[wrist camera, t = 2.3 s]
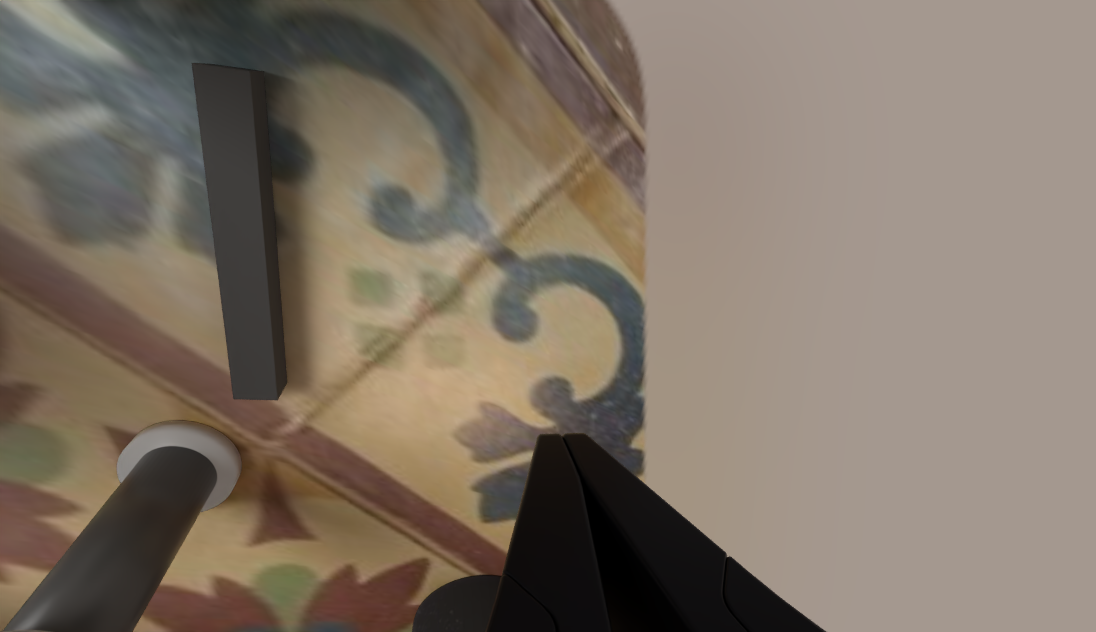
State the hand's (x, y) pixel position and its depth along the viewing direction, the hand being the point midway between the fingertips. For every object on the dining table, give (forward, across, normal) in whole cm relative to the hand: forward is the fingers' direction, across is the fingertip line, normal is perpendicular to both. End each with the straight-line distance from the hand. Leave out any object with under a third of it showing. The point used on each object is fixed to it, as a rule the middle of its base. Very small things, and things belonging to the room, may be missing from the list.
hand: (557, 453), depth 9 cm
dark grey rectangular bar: (+13, +9, 0) cm, 16 cm away
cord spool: (+13, +13, +10) cm, 21 cm away
